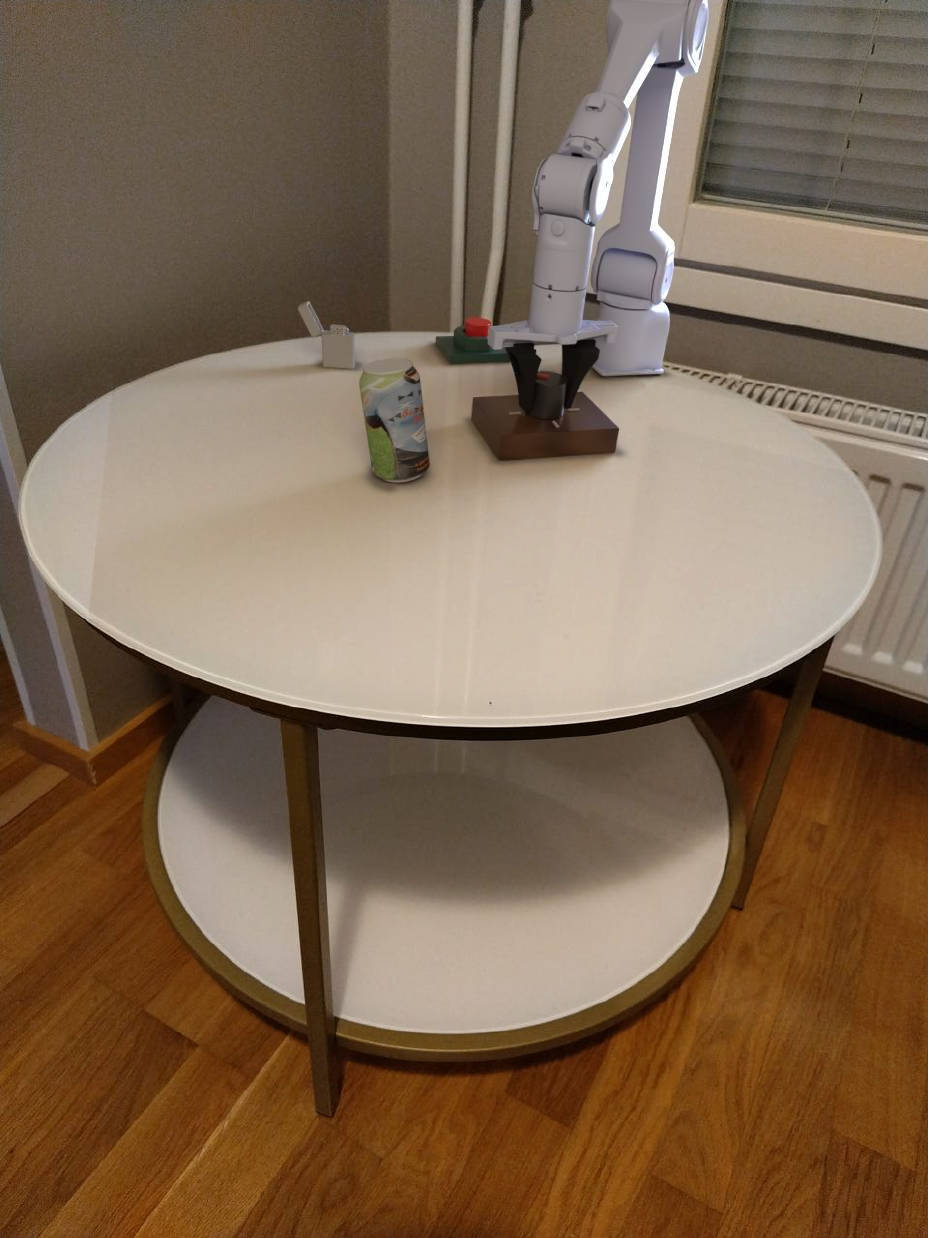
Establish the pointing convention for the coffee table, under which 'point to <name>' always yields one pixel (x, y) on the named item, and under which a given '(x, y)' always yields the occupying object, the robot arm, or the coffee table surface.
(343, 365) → the lighter
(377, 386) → the beverage can
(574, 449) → the dial panel
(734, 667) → the coffee table surface
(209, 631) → the coffee table surface
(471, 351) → the button box
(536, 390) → the dial
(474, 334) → the button
